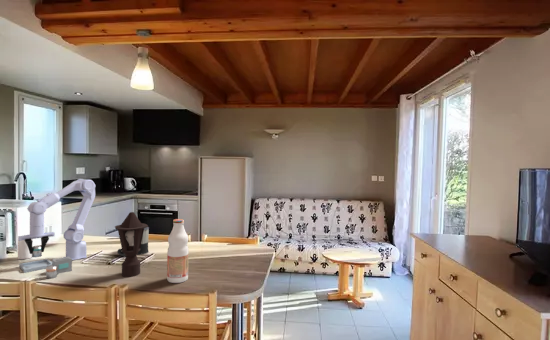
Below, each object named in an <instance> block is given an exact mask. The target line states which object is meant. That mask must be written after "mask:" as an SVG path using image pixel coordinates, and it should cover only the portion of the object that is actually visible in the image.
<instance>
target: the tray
mask: <svg viewBox="0 0 550 340" xmlns="http://www.w3.org/2000/svg"><path fill="white" fill-rule="evenodd" d="M51 265H52V260H50V259H49V258H45V259H43V258H42V259H39V260H38V259H37V260H33V261H32V260H31V261H28V262H22V263H19V264H18V267H19V268H20V269H21V271H22V272H23V273H24V274H27V273H31V272H36V271H40V270H46V267H47V266H51Z"/></svg>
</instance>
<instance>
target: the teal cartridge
mask: <svg viewBox="0 0 550 340" xmlns="http://www.w3.org/2000/svg"><path fill="white" fill-rule="evenodd" d="M42 253H43V252H42V246H41V245H33V246H32V258H41V257H42V256H43V255H42Z"/></svg>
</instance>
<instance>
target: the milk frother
mask: <svg viewBox="0 0 550 340" xmlns="http://www.w3.org/2000/svg"><path fill="white" fill-rule="evenodd" d="M149 229H150V227H149V226H148V227H146V228H144V232H143V237H142V242H141V246H140V251H139V252H138V254H137V255H138V256H139V255H145V254H148V253H149V231H150V230H149ZM116 253H117V255H118V256H121V258H123V257H126V256H125V253H123V252H122V248H119V249H117V251H116ZM137 255H136V256H137Z"/></svg>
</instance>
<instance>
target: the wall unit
mask: <svg viewBox="0 0 550 340" xmlns="http://www.w3.org/2000/svg"><path fill="white" fill-rule="evenodd" d="M51 262H52V265H57V275H58V274H63V273H68V272H72V271H73V260H72V258H70V257H69V256H68V257H66V256H63V257H58V258H52V259H51Z"/></svg>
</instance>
